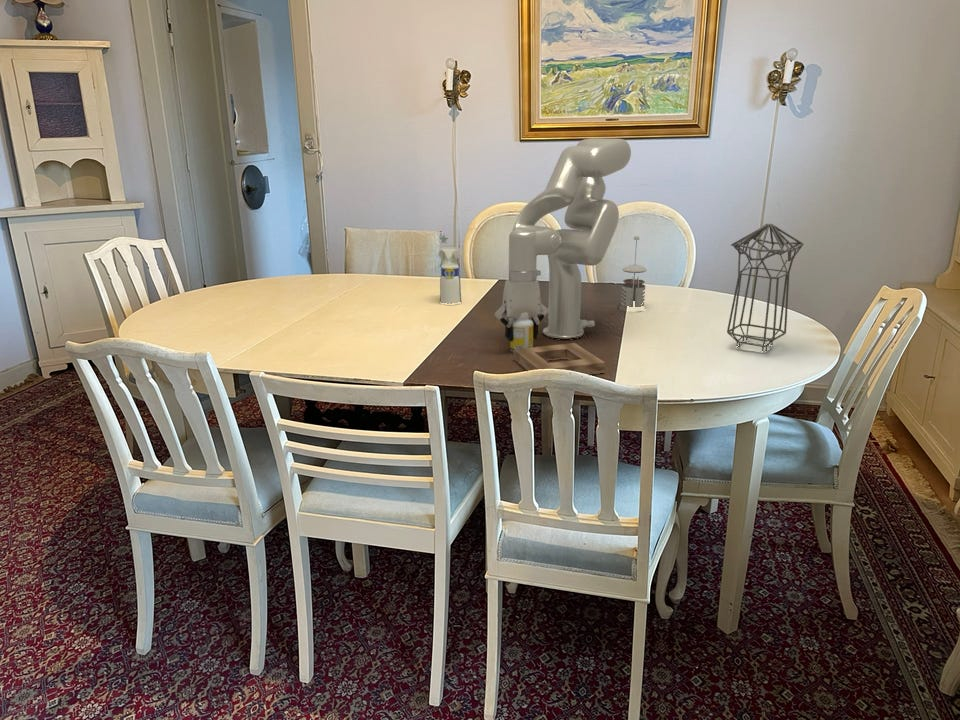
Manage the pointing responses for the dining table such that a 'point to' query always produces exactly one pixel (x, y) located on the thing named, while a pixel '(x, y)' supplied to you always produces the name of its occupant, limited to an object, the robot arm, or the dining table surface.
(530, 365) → the board with square hole
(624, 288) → the french press
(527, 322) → the pill bottle
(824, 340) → the dining table surface
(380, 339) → the dining table surface
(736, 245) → the geometric lantern
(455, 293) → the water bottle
